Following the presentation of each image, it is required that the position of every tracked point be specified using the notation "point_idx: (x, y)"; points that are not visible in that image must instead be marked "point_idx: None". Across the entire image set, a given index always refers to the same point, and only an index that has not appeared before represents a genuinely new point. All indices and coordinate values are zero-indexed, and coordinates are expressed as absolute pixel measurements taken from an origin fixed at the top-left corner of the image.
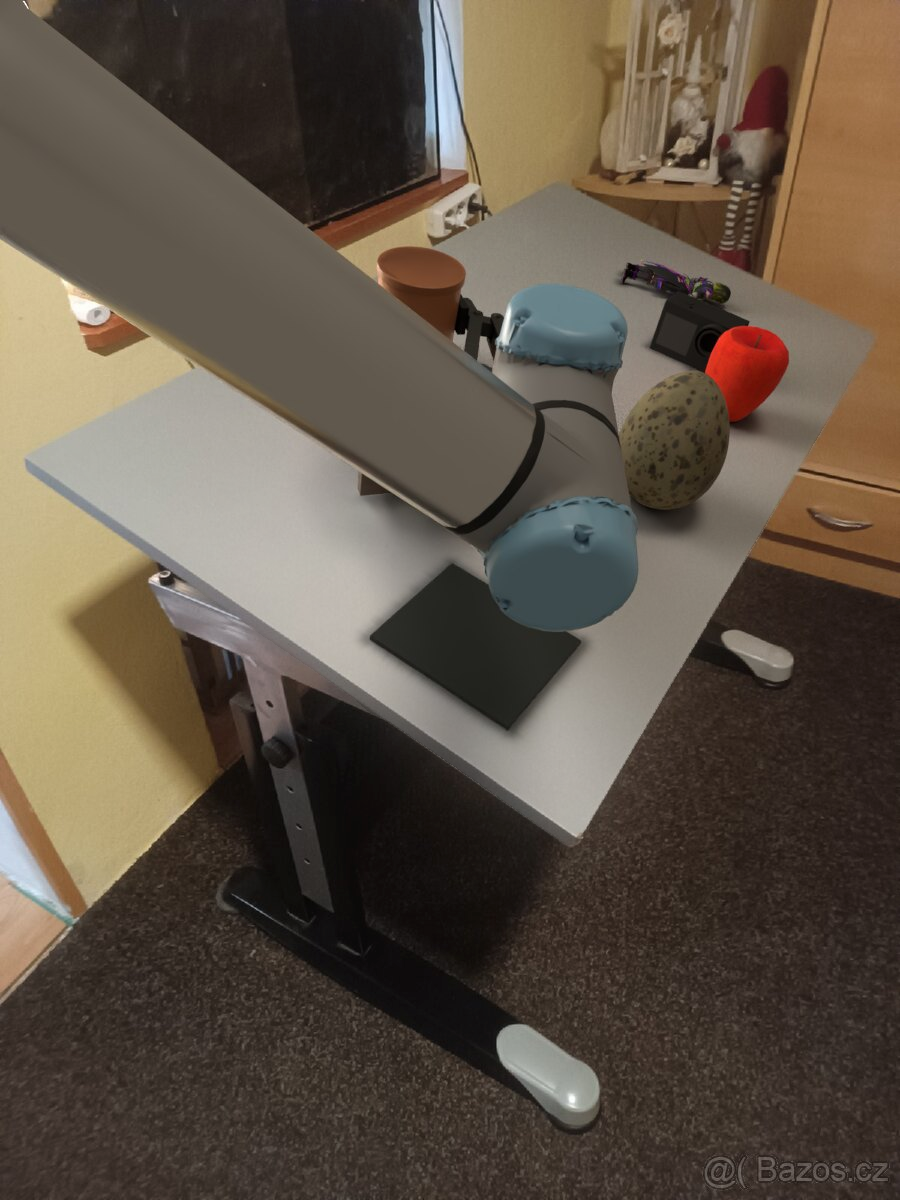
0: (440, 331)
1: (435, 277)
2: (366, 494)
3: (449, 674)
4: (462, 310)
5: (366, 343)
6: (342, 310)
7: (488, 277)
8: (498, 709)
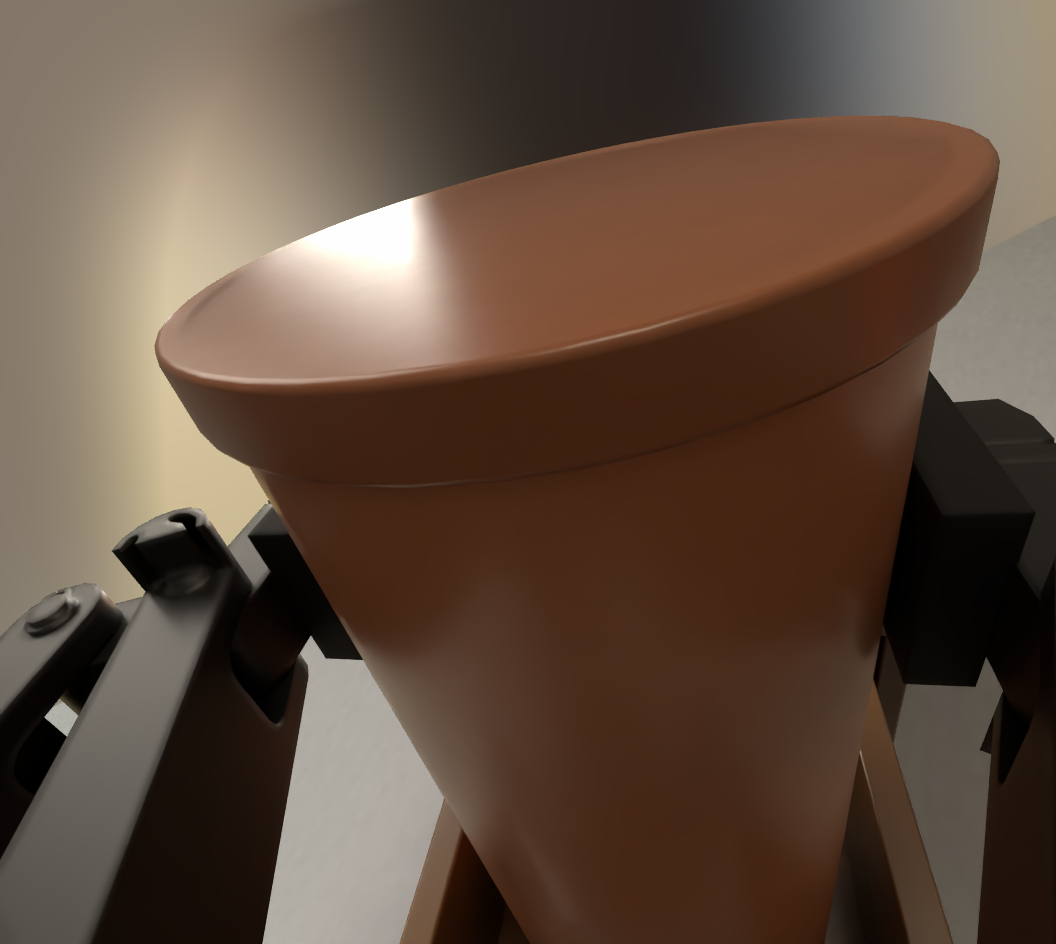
0: (692, 751)
1: (567, 253)
2: None
3: None
4: (951, 532)
5: None
6: None
7: (1020, 322)
8: None
